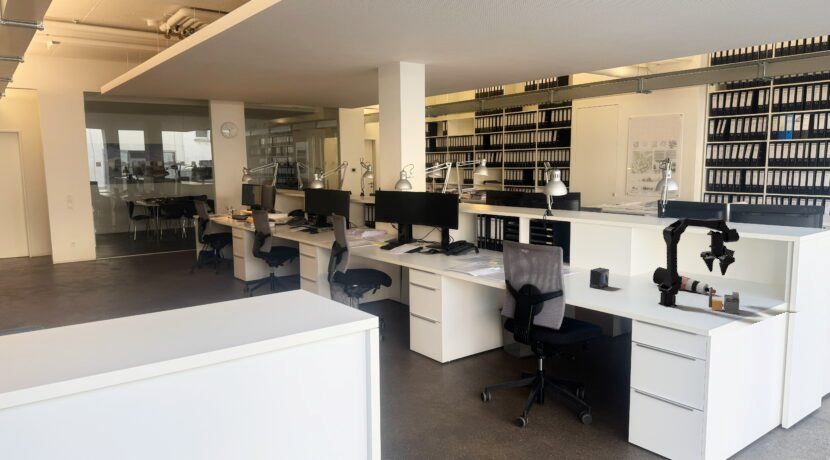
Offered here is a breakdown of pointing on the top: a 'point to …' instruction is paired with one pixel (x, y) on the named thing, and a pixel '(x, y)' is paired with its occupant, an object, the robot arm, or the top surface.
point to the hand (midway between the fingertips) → (717, 273)
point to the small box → (599, 278)
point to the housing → (731, 303)
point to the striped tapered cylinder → (686, 282)
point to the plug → (714, 301)
